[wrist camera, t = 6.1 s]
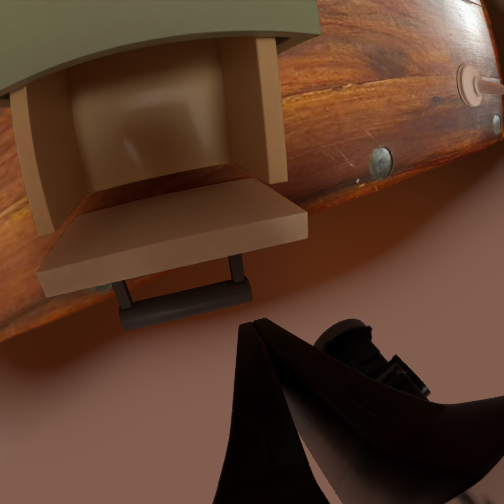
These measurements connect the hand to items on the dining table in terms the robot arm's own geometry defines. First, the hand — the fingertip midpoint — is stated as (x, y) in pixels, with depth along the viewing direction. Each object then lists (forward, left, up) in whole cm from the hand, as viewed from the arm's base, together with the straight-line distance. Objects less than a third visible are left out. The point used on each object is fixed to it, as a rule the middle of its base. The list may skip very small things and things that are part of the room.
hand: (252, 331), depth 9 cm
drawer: (+5, +2, -11) cm, 12 cm away
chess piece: (+10, -29, -12) cm, 33 cm away
